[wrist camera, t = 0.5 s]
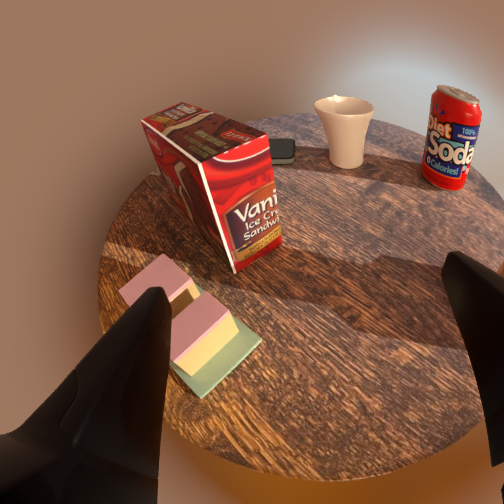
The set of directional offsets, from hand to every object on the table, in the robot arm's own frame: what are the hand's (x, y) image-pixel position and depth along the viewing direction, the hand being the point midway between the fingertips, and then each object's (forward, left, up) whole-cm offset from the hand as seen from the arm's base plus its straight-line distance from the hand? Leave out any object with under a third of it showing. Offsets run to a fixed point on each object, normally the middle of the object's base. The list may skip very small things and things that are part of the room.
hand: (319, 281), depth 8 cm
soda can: (+23, -29, -17) cm, 41 cm away
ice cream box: (+25, +6, -17) cm, 30 cm away
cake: (+11, +11, -16) cm, 23 cm away
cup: (+32, -15, -17) cm, 39 cm away
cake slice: (+7, +8, -16) cm, 19 cm away
